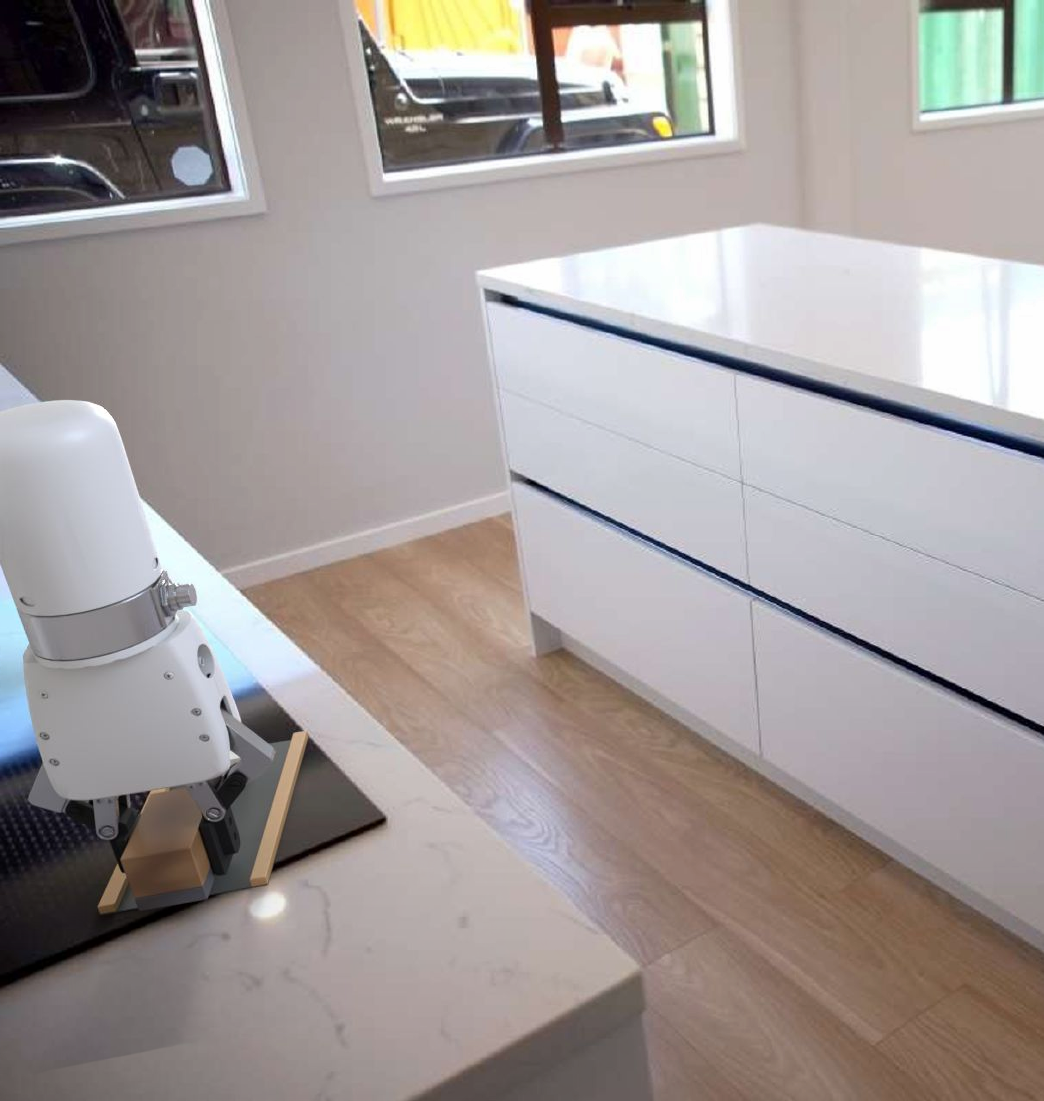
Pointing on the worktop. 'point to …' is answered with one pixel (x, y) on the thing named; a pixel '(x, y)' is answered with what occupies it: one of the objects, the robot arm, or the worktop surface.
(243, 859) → the slate board
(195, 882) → the eraser
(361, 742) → the worktop surface
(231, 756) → the chalk mark far
